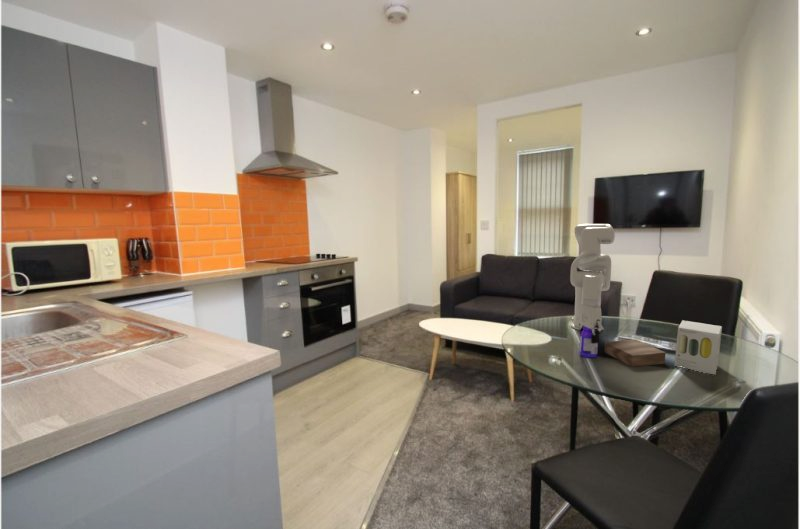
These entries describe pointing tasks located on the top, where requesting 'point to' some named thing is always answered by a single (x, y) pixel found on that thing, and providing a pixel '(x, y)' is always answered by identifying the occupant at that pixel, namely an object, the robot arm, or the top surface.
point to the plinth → (635, 353)
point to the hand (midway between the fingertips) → (589, 339)
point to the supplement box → (698, 346)
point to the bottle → (587, 344)
